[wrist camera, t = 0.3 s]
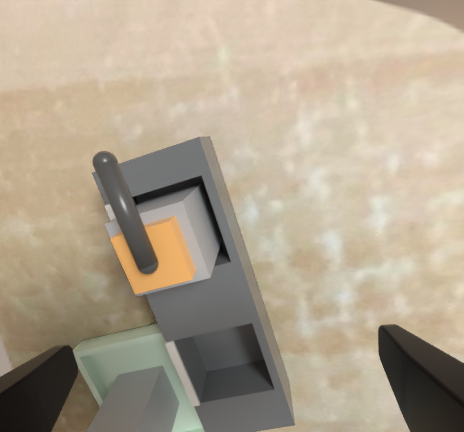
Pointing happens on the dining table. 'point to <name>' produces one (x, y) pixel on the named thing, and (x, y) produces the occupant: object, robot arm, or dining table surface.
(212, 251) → the twin plug
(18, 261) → the dining table surface
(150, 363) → the tray
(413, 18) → the dining table surface
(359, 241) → the dining table surface
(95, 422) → the plug
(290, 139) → the dining table surface
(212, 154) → the grey long block
